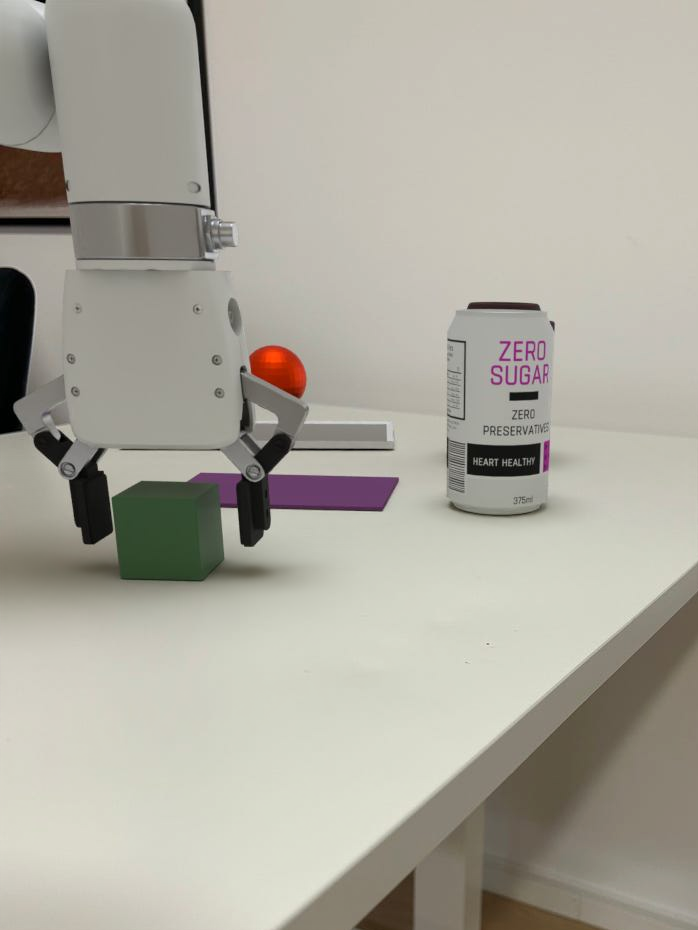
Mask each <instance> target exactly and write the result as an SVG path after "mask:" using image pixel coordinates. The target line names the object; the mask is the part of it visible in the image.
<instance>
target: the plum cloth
mask: <svg viewBox="0 0 698 930" xmlns="http://www.w3.org/2000/svg"><path fill="white" fill-rule="evenodd" d="M241 480H242V477H241V472H240V473H238V472H199V473H198V474H196V475H194V476H193V477H191V478H190V479H188V480H187V481H186V482H217V483H219V494H220V507H221V508H237V495H236V484H237V483H238V482H239V481H241ZM399 480H400V477H398V476H366V475H365V476H363V475H361V476H359V475H320V474H319V475H317V474H279V473H278V474H276V473H275V474H274V473H269V474H268V484H269V498H270V509H291V510H292V509H294V510H295V509H296V510H297V509H299V510H334V511H335V510H336V511H337V510H338V511H340V510H341V511H374V512H375V511H376V512H377V511H379V512H382V511H384V508H385V506H386V505H387V503H388V501H389V499H390V498H391V495H392V494H393V492H394V490H395V488H396V486H397V485H398V482H399Z"/></svg>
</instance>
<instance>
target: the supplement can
mask: <svg viewBox="0 0 698 930" xmlns="http://www.w3.org/2000/svg"><path fill="white" fill-rule="evenodd" d="M550 321H551V320H549V317H548V311H544V310H541V311H534V310H507V309H467V308H464V309H462V308H461V309H455V315H454V317H453V319H452V321H451V322H450V325H449V326H448V329H447V331H446V337H447V338H446V339H447V340H446V342H447V343H446V344H447V345H446V352H447V353H446V369H447V370H446V497H447V498H448V499H449V501H451V502H453V506H455V507H456V509H459V510H462V511H465V512H467V513H475V514H480V515H493V516H494V515H499V516H501V515H503V516H509V515H519V514H520V515H521V514H526V513H530V512H535V511H537V510H538V509H540V507H541V505H542V504H543V503H545V502H546V501H548V496H549V473H550V472H549V471H550V451H551V450H550V448H551V426H552V425H551V424H552V404H553V403H552V400H553V377H554V355H555V354H554V353H555V352H554V350H555V333H554V330H553V328H552V326H551V324H550Z"/></svg>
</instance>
